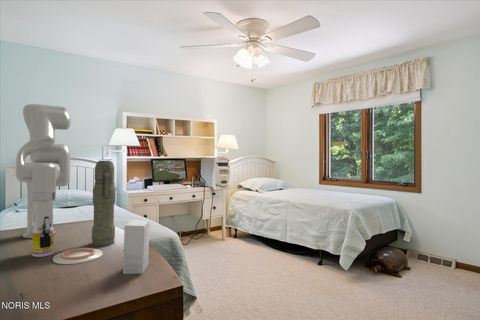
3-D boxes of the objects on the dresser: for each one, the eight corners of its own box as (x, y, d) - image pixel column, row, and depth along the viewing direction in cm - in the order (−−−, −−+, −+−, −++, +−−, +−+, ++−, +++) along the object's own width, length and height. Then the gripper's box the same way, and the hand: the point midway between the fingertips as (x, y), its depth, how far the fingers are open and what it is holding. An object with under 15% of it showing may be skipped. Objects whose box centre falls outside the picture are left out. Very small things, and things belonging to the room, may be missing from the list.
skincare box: (129, 265, 101) (130, 219, 101) (149, 264, 102) (150, 219, 102) (122, 274, 93) (123, 224, 93) (144, 274, 93) (144, 224, 93)
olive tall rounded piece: (96, 248, 119) (98, 161, 119) (88, 242, 128) (89, 160, 127) (119, 244, 125) (120, 161, 125) (109, 238, 133) (110, 160, 133)
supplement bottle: (42, 258, 106) (43, 222, 106) (27, 256, 108) (27, 221, 108) (57, 252, 113) (58, 218, 113) (42, 251, 114) (43, 217, 114)
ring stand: (47, 256, 109) (47, 251, 109) (94, 247, 120) (94, 243, 120) (59, 267, 97) (59, 263, 97) (109, 257, 109) (109, 252, 109)
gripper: (27, 195, 114) (26, 241, 114) (36, 200, 101) (35, 252, 101) (49, 194, 119) (49, 238, 119) (61, 198, 107) (60, 248, 107)
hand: (42, 244), depth 110 cm, fingers closed on supplement bottle, 6 cm apart
